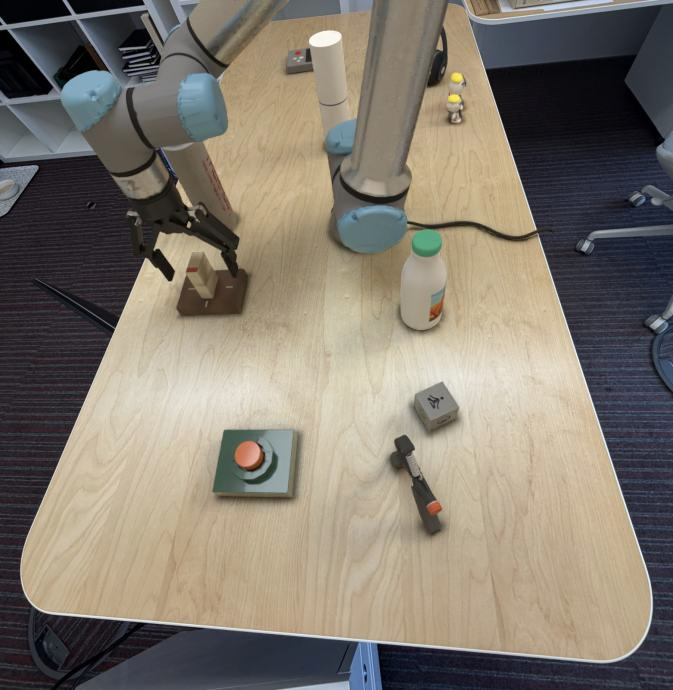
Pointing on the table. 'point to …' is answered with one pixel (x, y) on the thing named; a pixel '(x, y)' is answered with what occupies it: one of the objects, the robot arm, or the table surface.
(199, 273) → the knob
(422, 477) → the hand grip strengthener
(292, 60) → the electronic device
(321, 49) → the cylindrical container
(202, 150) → the thermos bottle
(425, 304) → the milk bottle
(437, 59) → the headphones
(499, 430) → the table surface
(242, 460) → the orange button cap
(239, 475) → the button housing
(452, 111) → the toy figures
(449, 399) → the dice cube
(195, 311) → the panel
